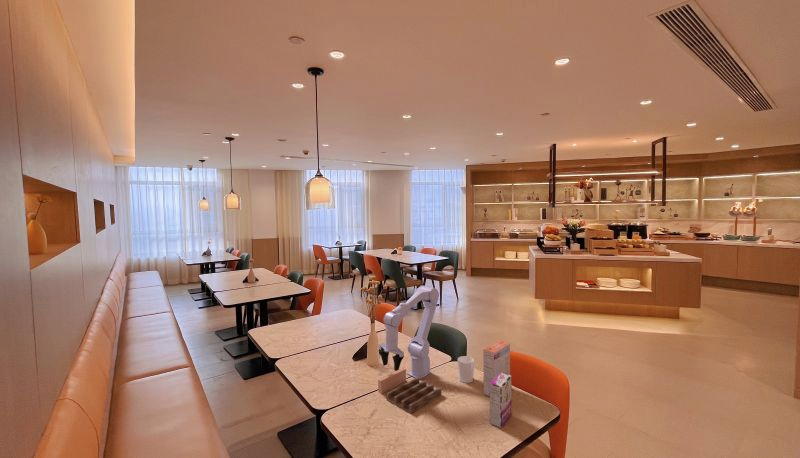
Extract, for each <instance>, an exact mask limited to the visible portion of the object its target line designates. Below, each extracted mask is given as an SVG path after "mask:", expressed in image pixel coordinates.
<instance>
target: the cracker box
mask: <svg viewBox="0 0 800 458" xmlns="http://www.w3.org/2000/svg"><path fill="white" fill-rule="evenodd" d="M482 358H483V395H484V396H487V397H489V398H490V383H491V382H492V381H493V380H494V379H495V378H496V377H497V376H498V375H499V374H500V373H504V374H507V375H511V344H510V343H508V342H505V341H502V340H498V341H497V342H495V343H493V344H491V345H490V346H487V347H486V348H483V356H482Z"/></svg>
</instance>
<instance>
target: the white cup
mask: <svg viewBox="0 0 800 458" xmlns="http://www.w3.org/2000/svg"><path fill="white" fill-rule="evenodd" d="M457 370H458V371H457V374H458V381H460V382H462V383H463V384H464V383H465V384H471V383H472V382H474V371H475V359H474V358H473V357H471V356H467V355H466V356H465V355H463V356H462V355H461V356H458V357H457Z"/></svg>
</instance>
